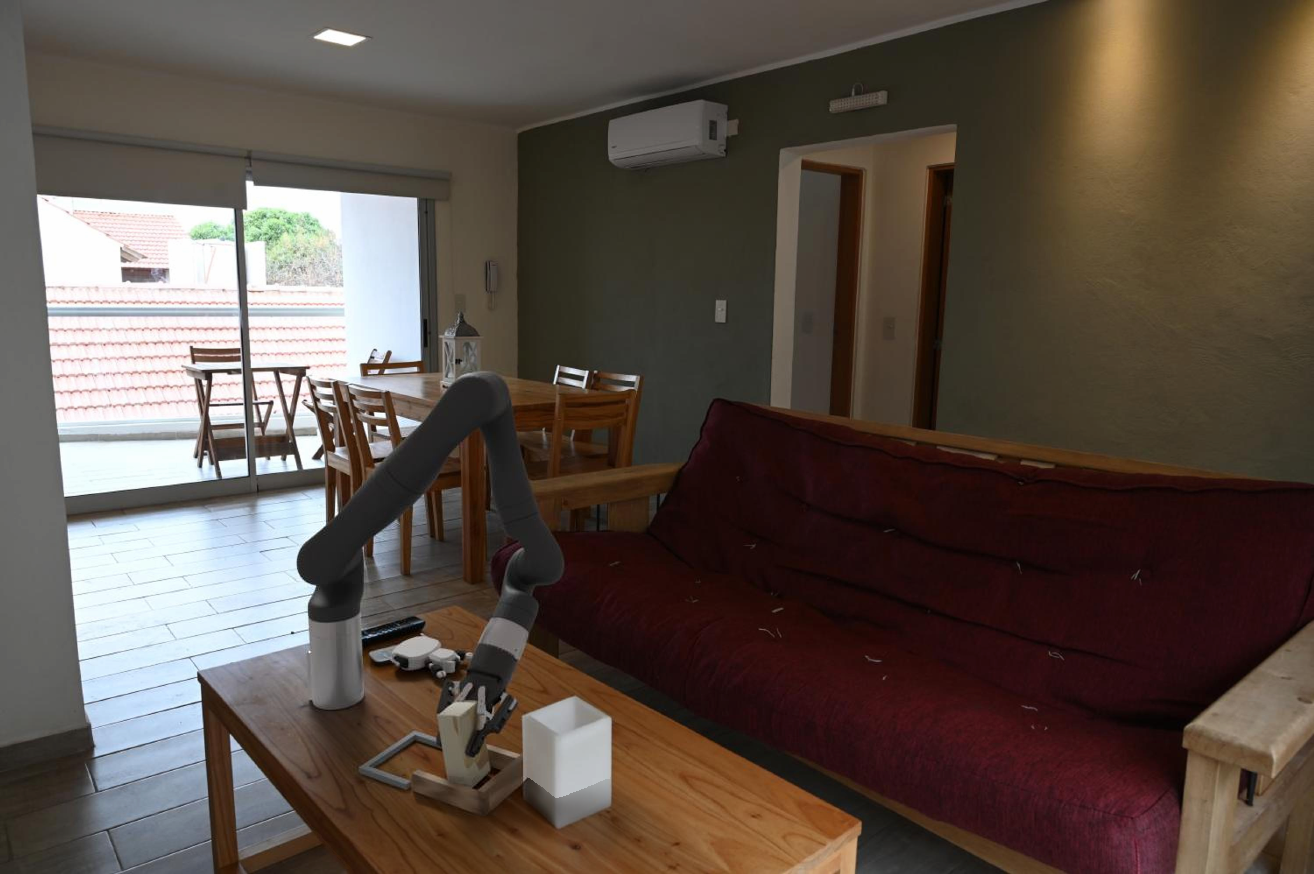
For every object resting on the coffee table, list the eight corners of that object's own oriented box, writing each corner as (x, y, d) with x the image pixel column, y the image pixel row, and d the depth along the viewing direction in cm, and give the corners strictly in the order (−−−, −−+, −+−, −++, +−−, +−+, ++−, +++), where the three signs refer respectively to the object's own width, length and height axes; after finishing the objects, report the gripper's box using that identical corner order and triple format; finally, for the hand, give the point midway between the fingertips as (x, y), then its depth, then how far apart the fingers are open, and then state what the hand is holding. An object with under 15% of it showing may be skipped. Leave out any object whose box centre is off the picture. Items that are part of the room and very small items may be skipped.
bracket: (359, 772, 136) (358, 767, 136) (414, 735, 148) (414, 730, 147) (406, 789, 132) (406, 784, 132) (459, 750, 143) (459, 744, 143)
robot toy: (476, 666, 177) (418, 648, 183) (477, 646, 176) (419, 629, 182) (440, 691, 166) (380, 671, 171) (441, 670, 165) (380, 651, 171)
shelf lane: (412, 790, 132) (411, 767, 131) (463, 752, 143) (462, 731, 142) (484, 816, 126) (484, 792, 125) (531, 774, 137) (531, 752, 136)
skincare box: (471, 790, 131) (458, 717, 129) (447, 788, 132) (434, 716, 131) (492, 769, 137) (480, 698, 135) (470, 767, 138) (457, 697, 137)
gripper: (454, 634, 141) (407, 733, 132) (525, 650, 135) (481, 754, 126) (474, 652, 147) (430, 748, 138) (543, 668, 140) (502, 769, 132)
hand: (455, 750), depth 132 cm, fingers closed on skincare box, 5 cm apart
